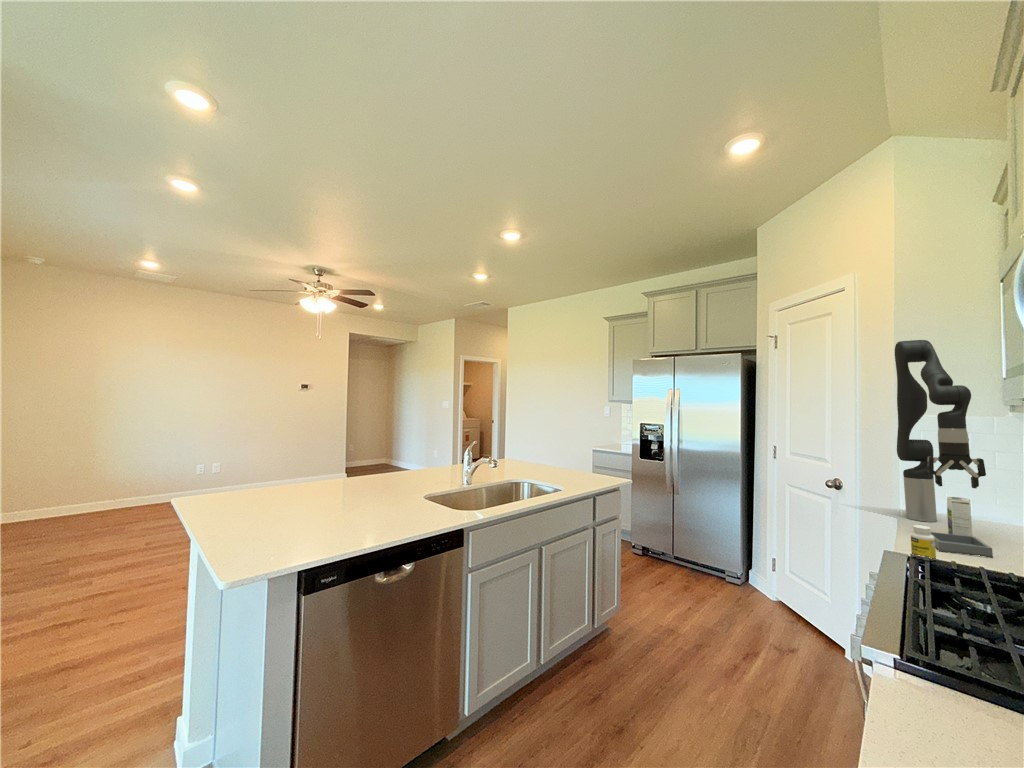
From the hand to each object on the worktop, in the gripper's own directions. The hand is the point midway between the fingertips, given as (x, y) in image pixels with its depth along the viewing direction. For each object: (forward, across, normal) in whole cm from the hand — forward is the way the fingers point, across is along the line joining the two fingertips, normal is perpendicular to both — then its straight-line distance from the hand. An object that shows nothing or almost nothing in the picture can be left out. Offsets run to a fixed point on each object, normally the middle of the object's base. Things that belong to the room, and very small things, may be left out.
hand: (956, 487), depth 149 cm
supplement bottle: (+19, +16, +32) cm, 40 cm away
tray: (+18, +4, +13) cm, 23 cm away
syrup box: (+19, 0, 0) cm, 19 cm away
